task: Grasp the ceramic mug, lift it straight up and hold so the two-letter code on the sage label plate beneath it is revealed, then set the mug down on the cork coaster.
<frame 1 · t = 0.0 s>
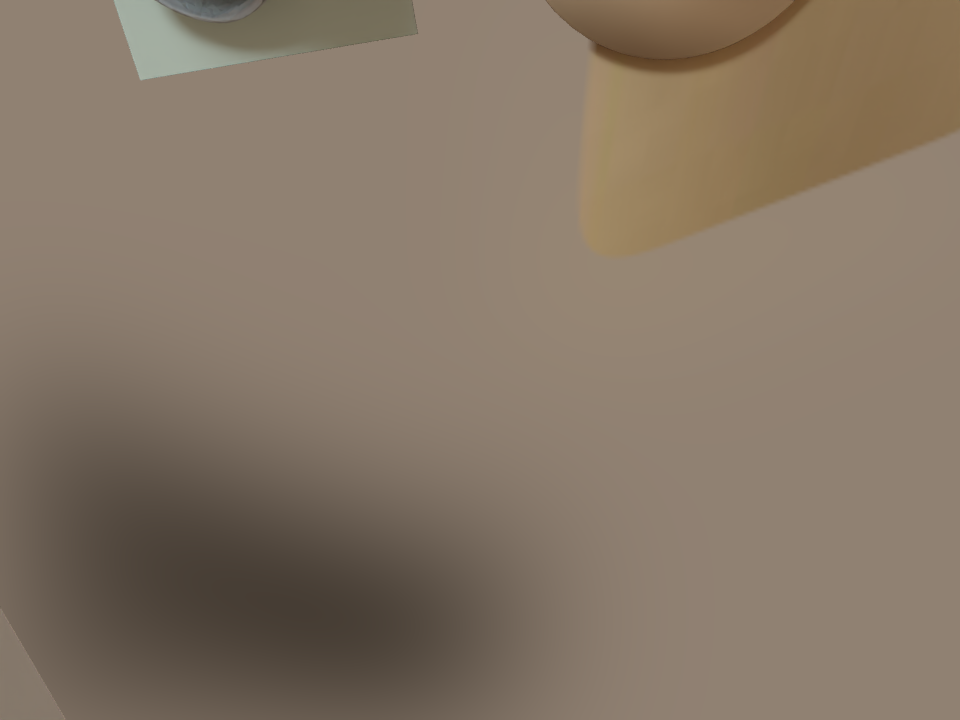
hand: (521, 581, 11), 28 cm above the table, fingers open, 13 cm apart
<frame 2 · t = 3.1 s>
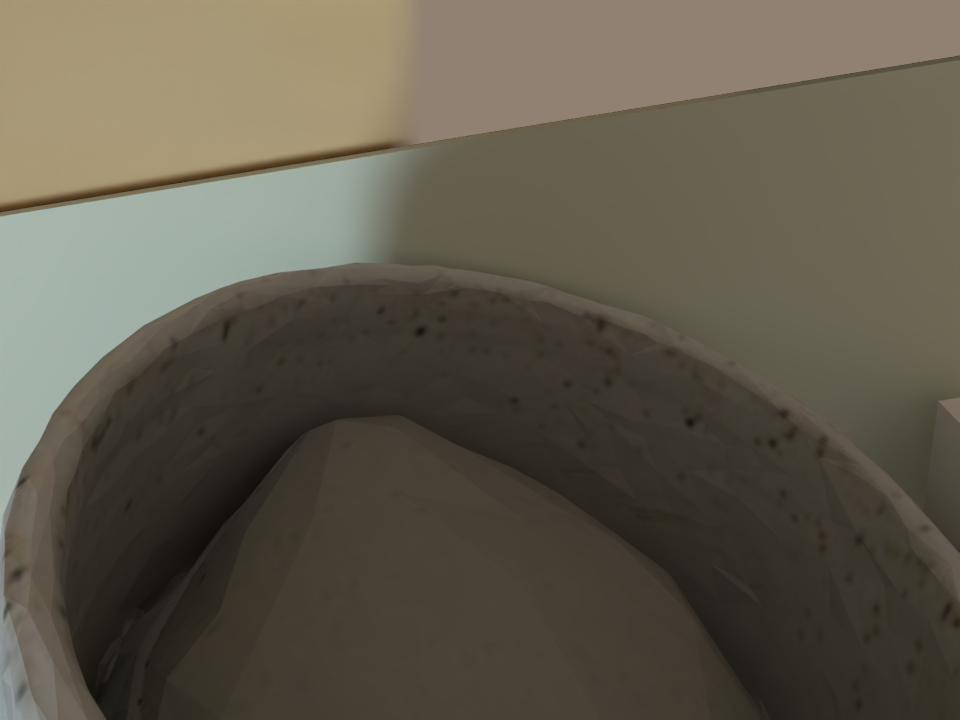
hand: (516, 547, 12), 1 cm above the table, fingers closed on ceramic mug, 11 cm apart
code plate: (518, 521, 12), on the table
ceramic mug: (533, 519, 12), resting on code plate, touching gripper
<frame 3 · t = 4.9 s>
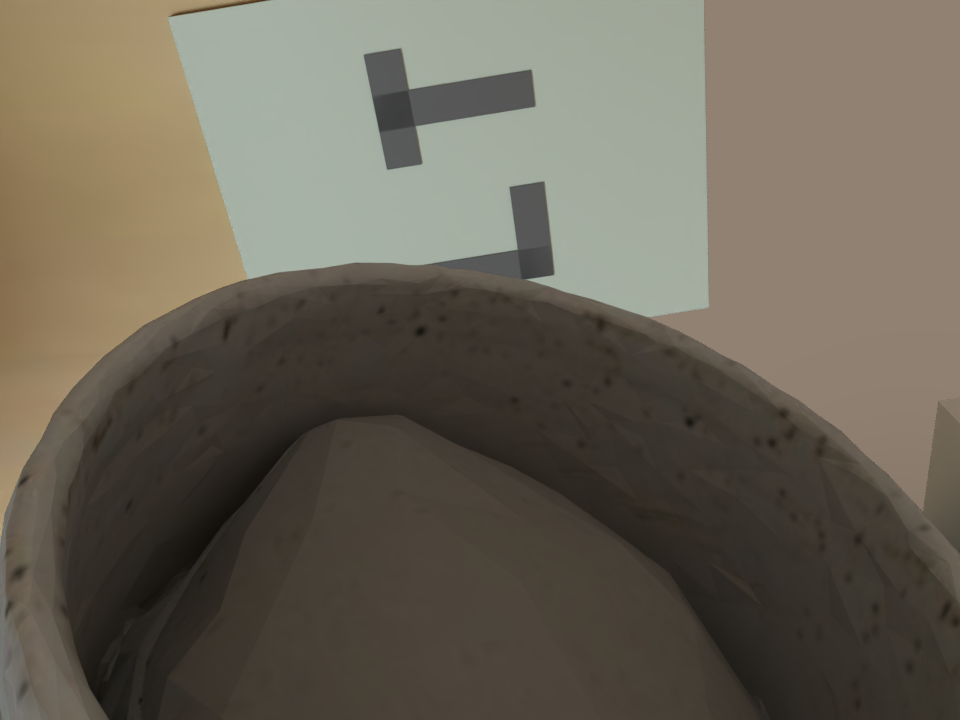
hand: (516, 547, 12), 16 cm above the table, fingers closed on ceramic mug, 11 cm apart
code plate: (465, 175, 26), on the table
ceramic mug: (533, 519, 12), point 15 cm above the table, touching gripper
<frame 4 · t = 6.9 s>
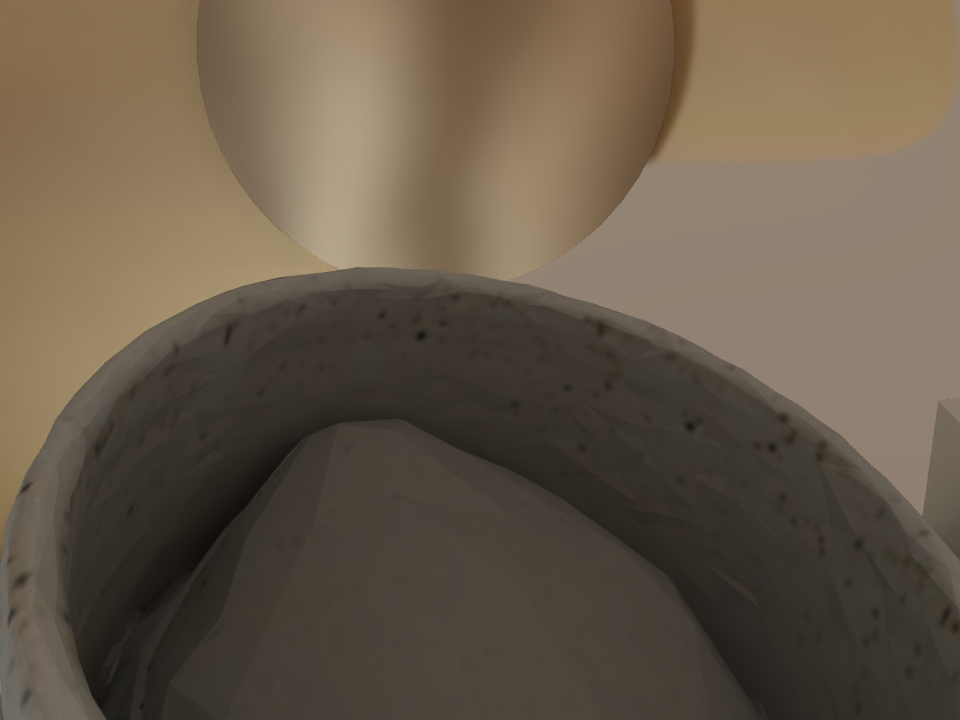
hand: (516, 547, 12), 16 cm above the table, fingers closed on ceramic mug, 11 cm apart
ceramic mug: (533, 522, 12), point 16 cm above the table, touching gripper
coaster: (440, 71, 25), on the table
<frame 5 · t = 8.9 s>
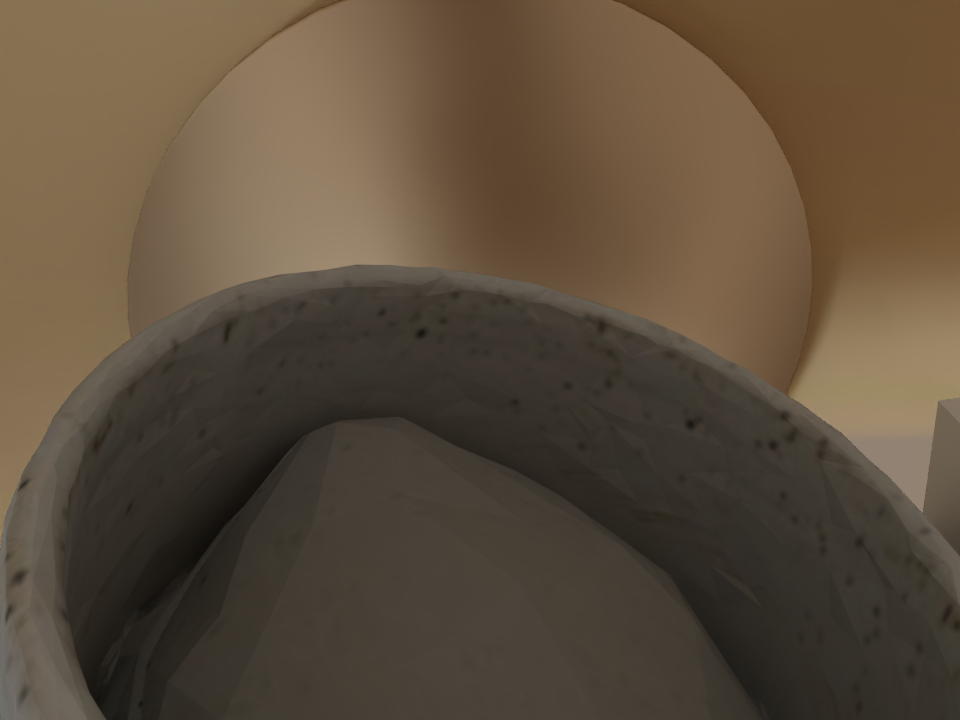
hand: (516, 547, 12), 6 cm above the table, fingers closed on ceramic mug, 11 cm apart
ceramic mug: (534, 521, 12), point 6 cm above the table, touching gripper
coaster: (476, 328, 18), on the table
when the fingers open (3 cm above the table, at t = 10.7 s): ceramic mug drops 2 cm, resting on coaster.
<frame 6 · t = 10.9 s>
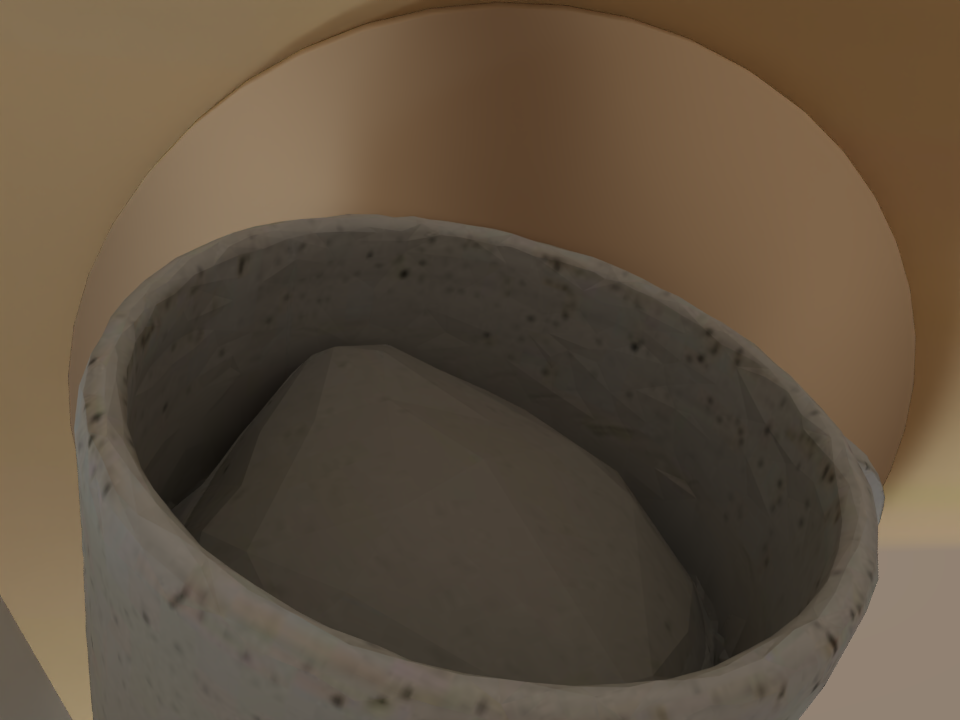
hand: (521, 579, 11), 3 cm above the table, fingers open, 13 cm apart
ceramic mug: (509, 446, 14), resting on coaster
coaster: (499, 428, 14), on the table
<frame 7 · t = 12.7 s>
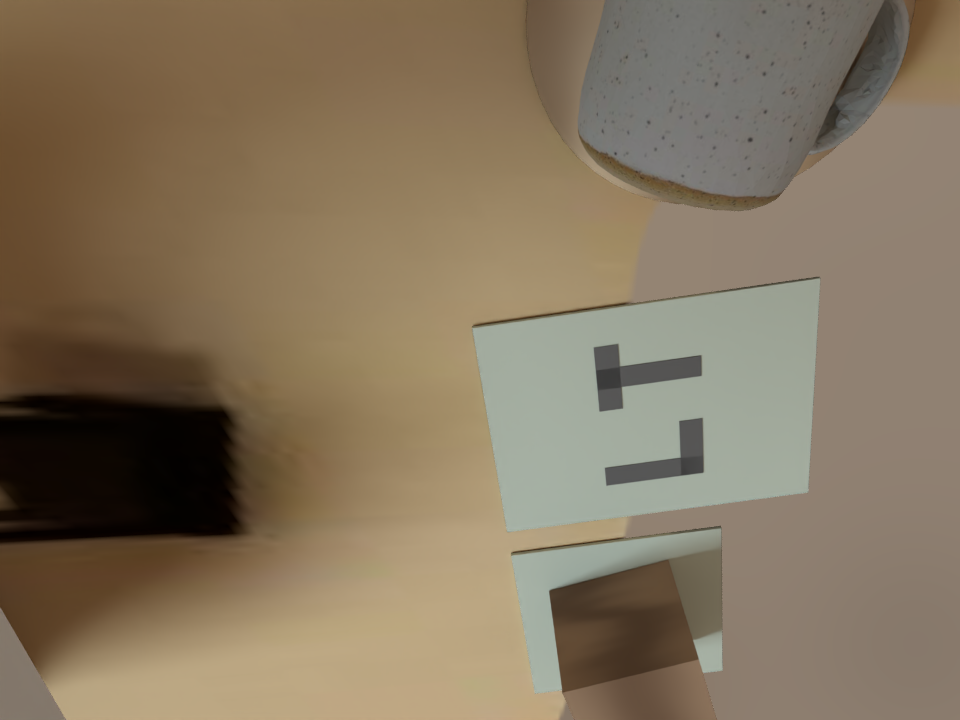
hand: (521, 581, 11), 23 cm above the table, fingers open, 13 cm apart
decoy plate: (621, 613, 45), on the table
code plate: (650, 413, 38), on the table
ceramic mug: (730, 22, 30), resting on coaster
coaster: (716, 17, 30), on the table
walnut block: (622, 616, 44), resting on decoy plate
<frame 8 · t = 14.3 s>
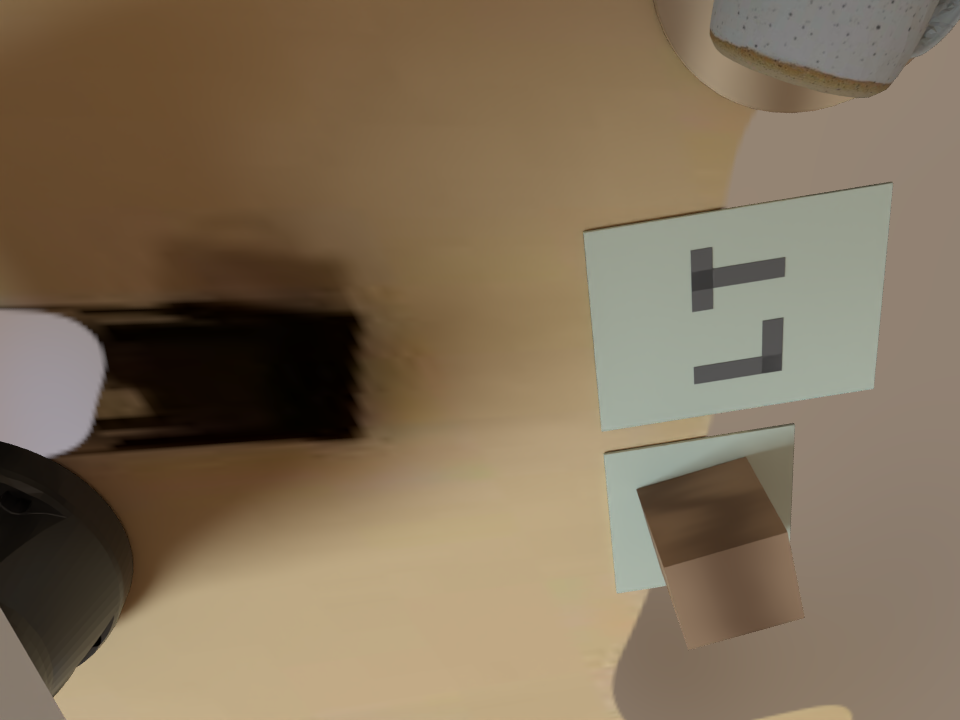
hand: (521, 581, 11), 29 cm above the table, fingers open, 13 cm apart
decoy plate: (700, 511, 49), on the table
code plate: (736, 314, 43), on the table
walnut block: (701, 514, 48), resting on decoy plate
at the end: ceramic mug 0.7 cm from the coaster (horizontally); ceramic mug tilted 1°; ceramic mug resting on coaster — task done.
